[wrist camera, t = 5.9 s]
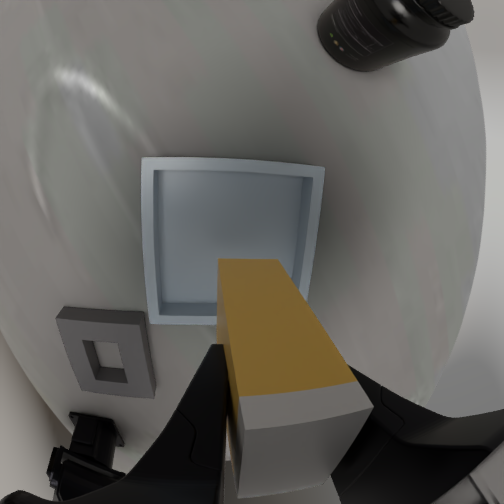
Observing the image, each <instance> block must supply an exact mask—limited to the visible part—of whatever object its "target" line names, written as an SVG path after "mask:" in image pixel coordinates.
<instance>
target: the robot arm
mask: <svg viewBox="0 0 504 504" xmlns="http://www.w3.org/2000/svg"><path fill="white" fill-rule="evenodd" d="M347 365H348V364H347ZM348 367H349V368H350V370H351V371H352V373H353V375H354V376H355V378H356V379H357V381H358V382H359V384H360V386H361V387H362V389H363V390H364V392H365V393H366V395H367V397H368V398H369V400H370V401H371V403H372V405H373V406H374V408H373V409H372V411H371V413H370V415H369V416H368V418H367V420H366V422H365V423H364V425H363V427H362V428H361V430H360V432H359V433H358V435H357V437H356V438H355V440H354V441H353V443H352V444H351V446H350V447H349V449H348V451H347V452H346V453H345V455H344V456H343V458H342V459H341V461H340V462H339V464H338V465H337V466H336V468H335V469H334V471H333V472H332V473H331V478H332V480H333V483H334V485H335V488H336V491H337V493H338V496H339V498H340V501H341V504H504V409H502V410H498V411H493V412H488V413H484V414H479V415H472V416H466V417H460V418H451V417H446V416H442V415H440V414H437V413H435V412H433V411H431V410H428V409H426V408H424V407H422V406H419V405H417V404H415V403H413V402H411V401H409V400H407V399H405V398H403V397H401V396H399V395H397V394H395V393H394V392H392V391H390V390H388V389H387V388H385V387H383V386H381V385H380V384H378V383H377V382H375V381H373V380H372V379H370V378H369V377H367V376H365V375H364V374H362V373H360V372H359V371H357V370H356V369H354V368H352V367H351V366H349V365H348ZM227 395H228V369H227V363H226V358H225V352H224V346H223V344H212V345H211V346H210V348H209V350H208V352H207V354H206V355H205V357H204V359H203V361H202V363H201V365H200V366H199V368H198V370H197V372H196V374H195V375H194V377H193V379H192V381H191V383H190V384H189V386H188V388H187V390H186V392H185V394H184V395H183V397H182V399H181V401H180V403H179V404H178V406H177V408H176V410H175V411H174V413H173V415H172V417H171V418H170V420H169V422H168V423H167V425H166V427H165V428H164V430H163V431H162V432H161V434H160V435H159V437H158V438H157V439H156V441H155V442H154V443H153V444H152V446H151V447H150V448H149V449H148V451H147V452H146V453H145V454H144V455H143V457H142V458H141V459H140V460H139V461H138V463H137V464H136V465H135V466H134V467H133V469H132V470H131V471H130V472H129V473H128V474H127V475H126V474H125V473H123V472H119V471H116V470H113V469H112V465H113V458H114V452H115V446H119V447H124V442H123V440H122V438H121V436H120V434H119V432H118V430H117V428H116V426H115V424H114V422H113V421H112V420H110V419H105V418H98V417H93V416H87V415H82V414H77V413H72V412H70V413H69V417H70V419H71V421H72V422H73V424H74V426H75V429H74V432H73V436H72V440H71V444H70V448H69V450H68V449H66V448H64V447H63V446H60V448H56V447H54V448H53V451H52V454H51V458H50V461H49V465H48V469H47V475H48V477H49V481H50V487H52V488H54V489H55V491H54V497H53V501H49V500H46V499H42V498H40V497H38V496H35V495H33V494H31V493H28V492H26V491H23V490H18V491H15V492H13V493H11V494H9V495H7V496H5V497H4V498H3V499H2V500H1V501H0V504H224V480H225V453H226V427H227ZM61 462H62V464H61Z"/></svg>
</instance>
